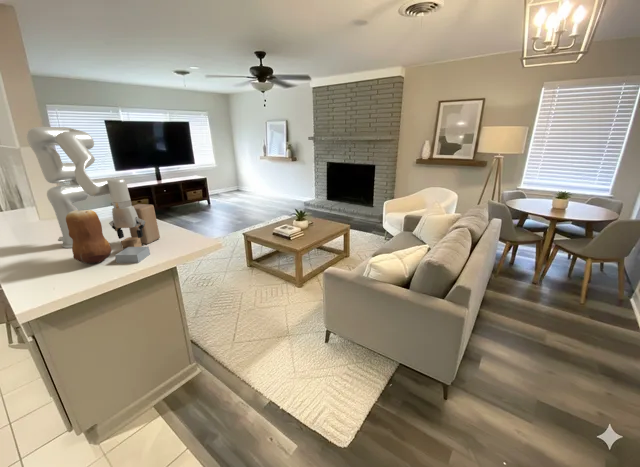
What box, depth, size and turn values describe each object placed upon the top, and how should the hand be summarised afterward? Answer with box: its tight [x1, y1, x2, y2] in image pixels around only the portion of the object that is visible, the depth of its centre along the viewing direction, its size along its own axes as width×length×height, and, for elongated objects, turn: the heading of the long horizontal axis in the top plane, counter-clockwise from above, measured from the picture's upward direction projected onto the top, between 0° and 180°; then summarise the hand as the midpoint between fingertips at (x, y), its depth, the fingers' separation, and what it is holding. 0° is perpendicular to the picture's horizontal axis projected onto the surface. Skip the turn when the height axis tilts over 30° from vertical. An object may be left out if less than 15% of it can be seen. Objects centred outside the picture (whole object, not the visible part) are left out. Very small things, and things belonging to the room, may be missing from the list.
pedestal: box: [114, 246, 151, 264], centre depth 137 cm, size 10×10×4 cm
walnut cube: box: [120, 236, 143, 250], centre depth 147 cm, size 6×6×6 cm
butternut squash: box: [66, 209, 112, 264], centre depth 130 cm, size 14×13×25 cm
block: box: [128, 203, 161, 245], centre depth 157 cm, size 10×10×20 cm
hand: (131, 237), depth 145 cm, fingers open, 9 cm apart
